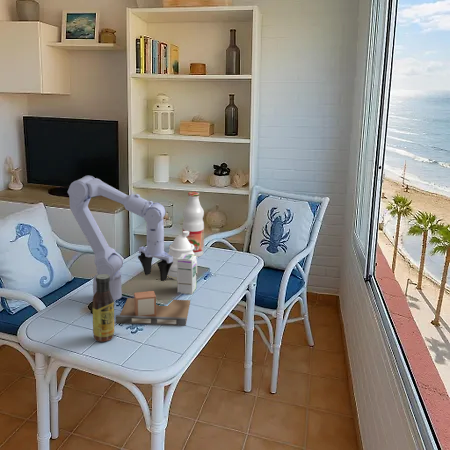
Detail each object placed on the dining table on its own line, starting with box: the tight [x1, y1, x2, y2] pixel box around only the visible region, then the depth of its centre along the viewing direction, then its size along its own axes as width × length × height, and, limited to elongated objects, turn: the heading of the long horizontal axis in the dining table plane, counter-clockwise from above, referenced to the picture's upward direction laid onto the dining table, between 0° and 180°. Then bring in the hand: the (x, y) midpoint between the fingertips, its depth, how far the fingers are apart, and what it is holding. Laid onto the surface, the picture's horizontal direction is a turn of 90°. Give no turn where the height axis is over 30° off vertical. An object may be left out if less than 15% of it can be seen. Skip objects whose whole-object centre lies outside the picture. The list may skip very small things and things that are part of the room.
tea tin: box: [133, 290, 157, 316], centre depth 161 cm, size 4×6×7 cm
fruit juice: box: [182, 191, 205, 258], centre depth 216 cm, size 9×9×28 cm
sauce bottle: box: [92, 274, 115, 343], centre depth 147 cm, size 6×6×20 cm
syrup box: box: [176, 254, 197, 296], centre depth 179 cm, size 6×6×14 cm
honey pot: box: [167, 230, 198, 277], centre depth 196 cm, size 13×13×18 cm
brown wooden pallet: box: [115, 297, 191, 327], centre depth 164 cm, size 22×18×3 cm
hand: (155, 277), depth 170 cm, fingers open, 7 cm apart
